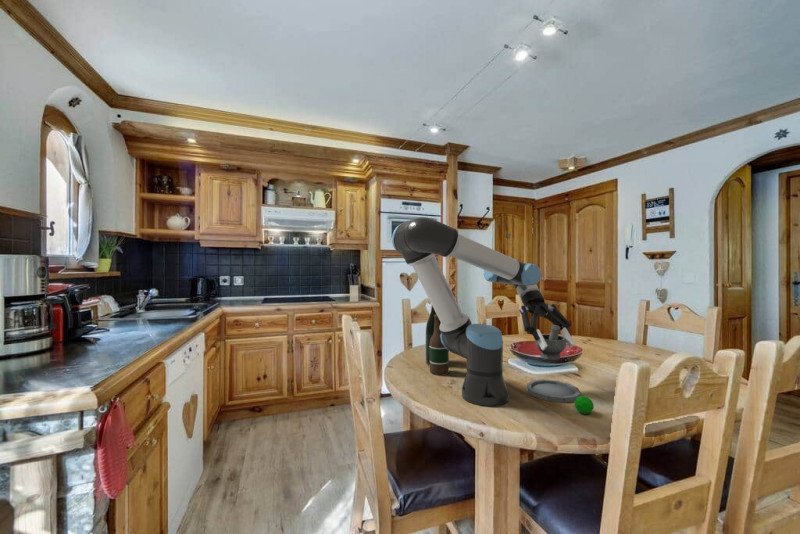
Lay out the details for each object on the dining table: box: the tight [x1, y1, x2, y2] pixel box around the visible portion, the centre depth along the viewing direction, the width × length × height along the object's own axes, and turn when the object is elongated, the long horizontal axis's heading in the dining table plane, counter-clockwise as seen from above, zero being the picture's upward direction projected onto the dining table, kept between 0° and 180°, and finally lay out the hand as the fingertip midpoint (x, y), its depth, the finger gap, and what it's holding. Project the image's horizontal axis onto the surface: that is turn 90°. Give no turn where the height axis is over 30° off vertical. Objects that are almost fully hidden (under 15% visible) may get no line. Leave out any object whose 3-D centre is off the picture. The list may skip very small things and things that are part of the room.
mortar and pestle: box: [534, 324, 567, 361], centre depth 115 cm, size 11×9×12 cm
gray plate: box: [526, 379, 582, 403], centre depth 115 cm, size 16×16×2 cm
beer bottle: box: [429, 314, 450, 376], centre depth 137 cm, size 8×8×24 cm
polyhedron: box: [574, 395, 595, 415], centre depth 99 cm, size 5×5×5 cm
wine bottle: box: [424, 305, 436, 366], centre depth 150 cm, size 10×10×33 cm
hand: (558, 347), depth 112 cm, fingers closed on mortar and pestle, 10 cm apart
